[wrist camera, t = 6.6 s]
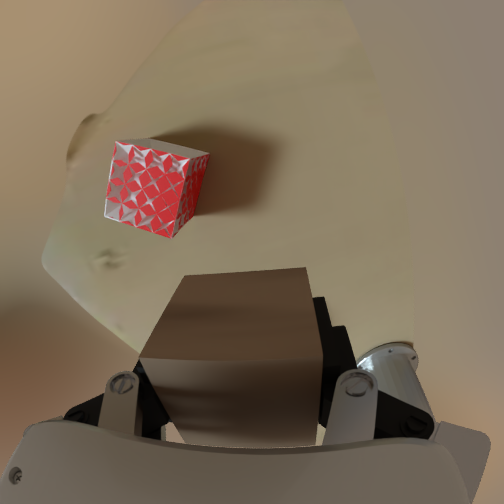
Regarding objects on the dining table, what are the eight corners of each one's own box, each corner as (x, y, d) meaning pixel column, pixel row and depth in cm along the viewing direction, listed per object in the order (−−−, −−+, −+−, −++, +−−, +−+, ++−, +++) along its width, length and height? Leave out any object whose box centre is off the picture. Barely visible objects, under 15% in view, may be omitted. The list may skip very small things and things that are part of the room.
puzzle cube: (210, 153, 31) (190, 158, 23) (193, 216, 34) (171, 238, 27) (148, 138, 30) (114, 140, 23) (136, 198, 33) (103, 216, 26)
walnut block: (307, 357, 13) (315, 444, 9) (207, 361, 14) (185, 443, 9) (305, 267, 11) (323, 355, 7) (184, 275, 12) (138, 357, 7)
